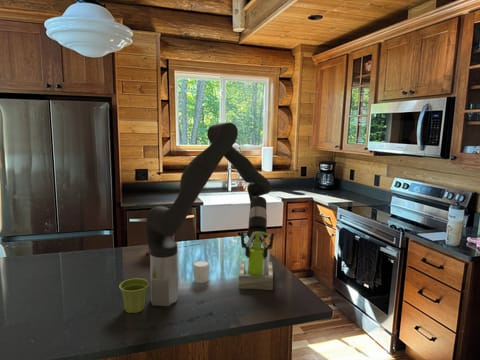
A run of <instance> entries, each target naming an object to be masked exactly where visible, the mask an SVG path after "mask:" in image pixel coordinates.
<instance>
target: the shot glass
mask: <svg viewBox="0 0 480 360" xmlns="http://www.w3.org/2000/svg"><path fill="white" fill-rule="evenodd" d="M210 264H211V263H210V262H209V261H208V260H197V261H193V263H192V270H193V271H192V272H193V280H194V283H198V284H204V283H207V282H208V281H209V277H210V275H209V274H210Z"/></svg>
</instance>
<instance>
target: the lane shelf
mask: <svg viewBox="0 0 480 360" xmlns="http://www.w3.org/2000/svg"><path fill="white" fill-rule="evenodd" d="M267 262H268V264H267V266H268V267H267V273H268V274H267V275H266V274H263V275H248V273H247V274H245V272H246V260H241V264H240V270H239V274H238V289H247V290H249V289H251V290H266V291H267V290H268V291H269V290H270V291H271V290H272V291H273V289H274V273H273V272H274V271H273V262H272V261H267Z"/></svg>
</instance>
